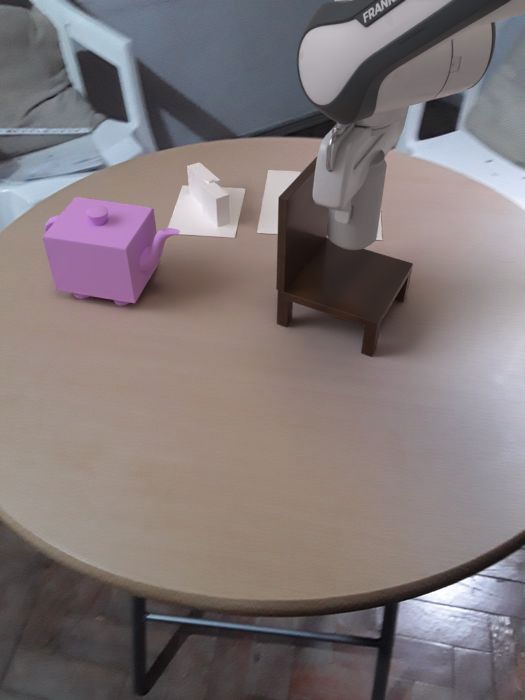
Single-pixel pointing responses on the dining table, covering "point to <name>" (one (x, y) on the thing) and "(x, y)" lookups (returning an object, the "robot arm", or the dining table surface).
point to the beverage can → (361, 211)
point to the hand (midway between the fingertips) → (355, 204)
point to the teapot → (104, 249)
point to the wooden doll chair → (331, 267)
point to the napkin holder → (206, 205)
